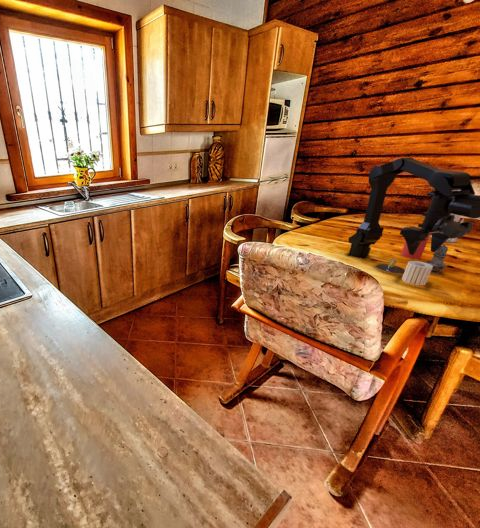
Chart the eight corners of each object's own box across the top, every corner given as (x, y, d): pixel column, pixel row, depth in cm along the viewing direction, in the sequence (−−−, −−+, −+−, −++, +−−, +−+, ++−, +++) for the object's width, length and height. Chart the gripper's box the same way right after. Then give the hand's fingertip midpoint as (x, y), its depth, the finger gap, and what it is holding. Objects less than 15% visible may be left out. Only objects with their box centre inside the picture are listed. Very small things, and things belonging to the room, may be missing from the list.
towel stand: (373, 269, 115) (376, 259, 113) (378, 263, 120) (382, 253, 118) (402, 276, 108) (406, 266, 107) (407, 269, 114) (411, 259, 112)
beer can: (416, 260, 120) (427, 234, 116) (397, 255, 126) (406, 230, 121) (423, 257, 123) (434, 231, 118) (404, 252, 129) (413, 228, 124)
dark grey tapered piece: (447, 275, 107) (460, 246, 102) (429, 274, 108) (441, 246, 104) (435, 269, 113) (447, 241, 108) (418, 268, 114) (429, 241, 109)
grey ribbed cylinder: (400, 281, 104) (406, 264, 102) (403, 275, 108) (410, 259, 105) (423, 287, 100) (431, 269, 97) (426, 281, 103) (434, 264, 101)
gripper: (444, 219, 86) (425, 265, 92) (494, 213, 88) (471, 258, 94) (406, 211, 96) (391, 253, 102) (451, 206, 98) (433, 247, 105)
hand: (422, 253), depth 101 cm, fingers open, 9 cm apart
